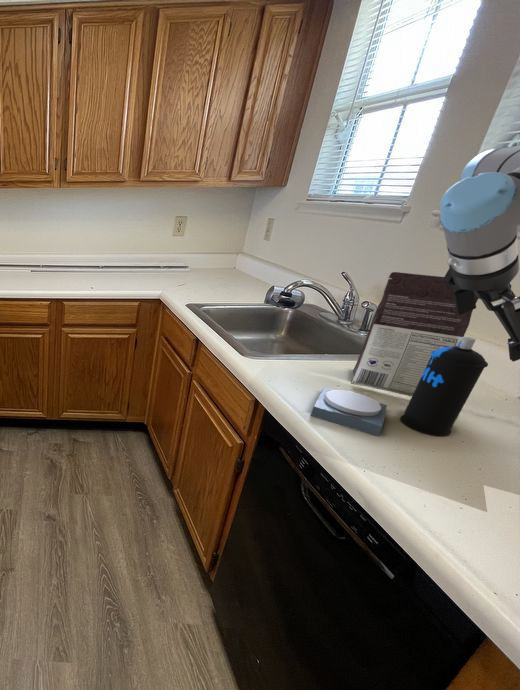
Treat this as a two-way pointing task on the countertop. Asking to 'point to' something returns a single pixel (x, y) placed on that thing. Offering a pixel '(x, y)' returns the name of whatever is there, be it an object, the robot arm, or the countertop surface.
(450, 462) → the countertop surface
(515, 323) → the robot arm
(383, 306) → the protein powder
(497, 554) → the countertop surface
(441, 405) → the aerosol can
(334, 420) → the kitchen scale
